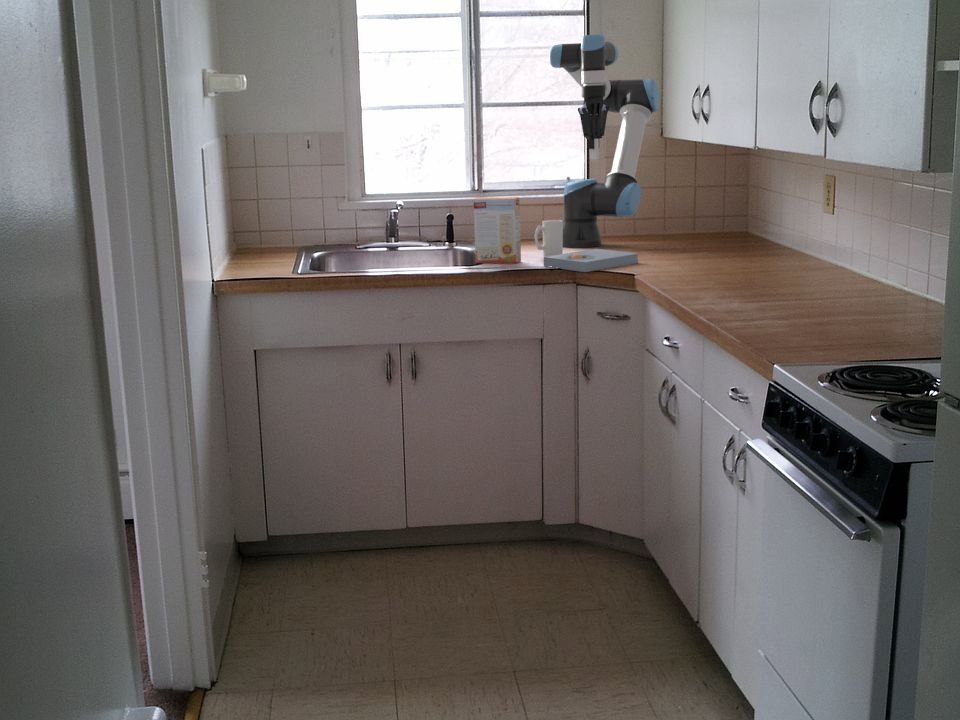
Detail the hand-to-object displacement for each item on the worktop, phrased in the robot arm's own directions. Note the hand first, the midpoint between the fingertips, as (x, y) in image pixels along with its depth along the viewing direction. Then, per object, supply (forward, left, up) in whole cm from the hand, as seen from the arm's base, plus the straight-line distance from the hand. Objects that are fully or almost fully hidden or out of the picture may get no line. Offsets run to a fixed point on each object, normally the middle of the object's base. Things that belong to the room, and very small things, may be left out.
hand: (594, 159), depth 342 cm
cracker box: (+32, -13, -32) cm, 47 cm away
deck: (+17, +14, -32) cm, 38 cm away
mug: (+14, -8, -32) cm, 36 cm away
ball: (+23, +14, -30) cm, 40 cm away
